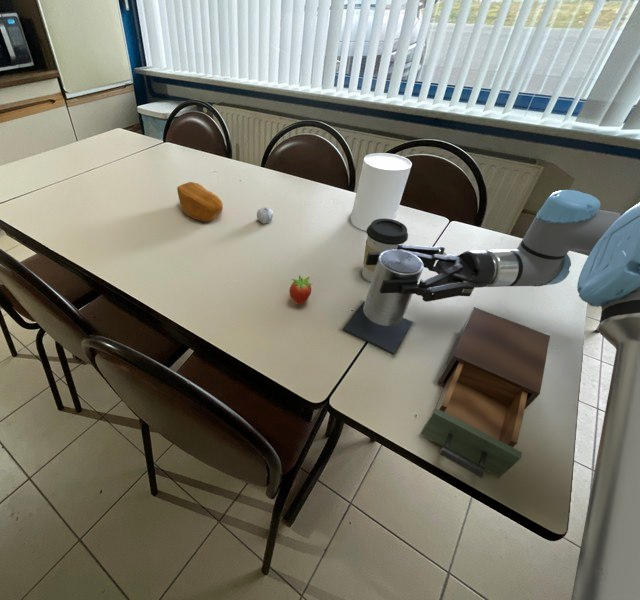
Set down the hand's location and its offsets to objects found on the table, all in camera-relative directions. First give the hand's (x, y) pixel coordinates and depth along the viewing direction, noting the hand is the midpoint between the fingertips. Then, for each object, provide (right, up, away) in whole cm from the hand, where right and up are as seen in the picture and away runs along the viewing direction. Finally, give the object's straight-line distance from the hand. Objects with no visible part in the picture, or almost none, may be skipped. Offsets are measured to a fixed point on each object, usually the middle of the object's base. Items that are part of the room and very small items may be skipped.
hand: (374, 272), depth 74 cm
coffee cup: (+9, +1, +25) cm, 27 cm away
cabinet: (+23, -21, +1) cm, 31 cm away
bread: (-40, +25, +53) cm, 71 cm away
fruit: (-13, -7, +17) cm, 22 cm away
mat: (+5, -12, +11) cm, 17 cm away
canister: (+16, +20, +47) cm, 54 cm away
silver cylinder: (+5, -8, +8) cm, 12 cm away
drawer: (+13, -29, -10) cm, 33 cm away
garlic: (-19, +20, +47) cm, 55 cm away
